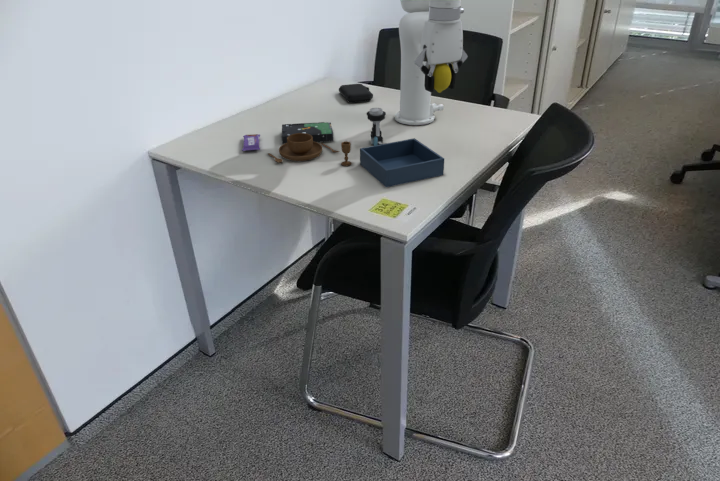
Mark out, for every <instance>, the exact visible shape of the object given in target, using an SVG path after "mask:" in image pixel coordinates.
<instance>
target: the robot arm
mask: <svg viewBox="0 0 720 481" xmlns="http://www.w3.org/2000/svg"><path fill="white" fill-rule="evenodd" d="M400 5H401V8H402V9H403V11H404V12H406V14H404V15H403V16H402V17H401V18H400V20H399V23H398V35H399V36H398V37H399V44H400V85H399V86H400V87H399V88H400V89H399V96H400V97H399V111H397V112H395V114H394V120H395V121H396V122H397V123H400V124H402V125H408V126H423V125H428V124H430V123H432V122H434V121H435V118H436V116H435V114H434V113H435V112H439V111H440V112H441V111H443V110H444V108H445V107H444V106H445V105H444V104H443V103H440V104H439V103H438V104H436V102H433V103H431V102H432V101H431V100H432V93H433V92H434V91H435V89H434V76H432V75H433V72H434V69H435V66H436V64H444V63H445V64H447V65H448V66H449V68H450V70H451V82H450V85H449V86H448V88H449V89H451V90H454V89H455V85H456V76H457V73H458V72H459V69H460V68H461V67H462V65H463V63H464V62H466V60H467V59H468V57H469V56H468V54H467V53H466V51H465V50H464V46H463V45H464V33H463V32H464V31H463V22H462V19H461V14H464V13H465V9H464V7H462V0H400ZM448 88H447V89H448Z"/></svg>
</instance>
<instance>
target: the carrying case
mask: <svg viewBox="0 0 720 481" xmlns="http://www.w3.org/2000/svg"><path fill="white" fill-rule="evenodd" d="M338 92H339V93H340V94H341V96H343V98H344V99H345V100H346V101H347V102H348V103H351V104H354V103H364V102H370V101H372V100H373V98H374V93H372V92H371V91H370V88H369V87H368V86H365V85H363V84H362V83H351V84H341V85H340V86H339V88H338Z"/></svg>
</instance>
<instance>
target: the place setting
mask: <svg viewBox="0 0 720 481" xmlns="http://www.w3.org/2000/svg"><path fill="white" fill-rule="evenodd" d="M340 144H341V145H340V147H341V151H339V150H335V149H333V148H332V147H330V146H329V145H327V144H325V143H324V142H320V143H317V142H314V141H313V137H312V135H310V134H307V133H296V134H292V135H290V136H288V137H287V143H285V144H281V145H280V146H279V147H278V153H279V155H280V156H281V157H282V158H283V159H285V160H288V161H292V162H307V161H311V160H314V159H316V158H318V157H320V155H321V154H322V152H323V146H324V147H326V148H327V149H328V150H331V153H334V154H335V153H336V154H337V153H339V152H340V153H341V152H342V154H344V161H341V166H343V167H350V166H352V165H353V163H352V161H349V153H351V150H352V146H351V145H352V144H351V141H347V140H345V141H342V142H340ZM267 155H269V157H272V158H273V159H274V161H275V162H276V163H283V159H282V158H279V157H276V156H274V155H273V154H272V153H267Z"/></svg>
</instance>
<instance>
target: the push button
mask: <svg viewBox="0 0 720 481" xmlns="http://www.w3.org/2000/svg"><path fill="white" fill-rule="evenodd" d="M386 116H387V112H386V111H384V109H383V108H381V107H371V108H370V109H369V111H367V112H366V117H367V120H368V121H370V122H371V123H372V127H371V130H370V134H369V135H370V144H371V145H373V146H376V145H381V144H384V137H383V136H382V133H383V132H382V130H381V122H383V121H384V120H385V119H386Z"/></svg>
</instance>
